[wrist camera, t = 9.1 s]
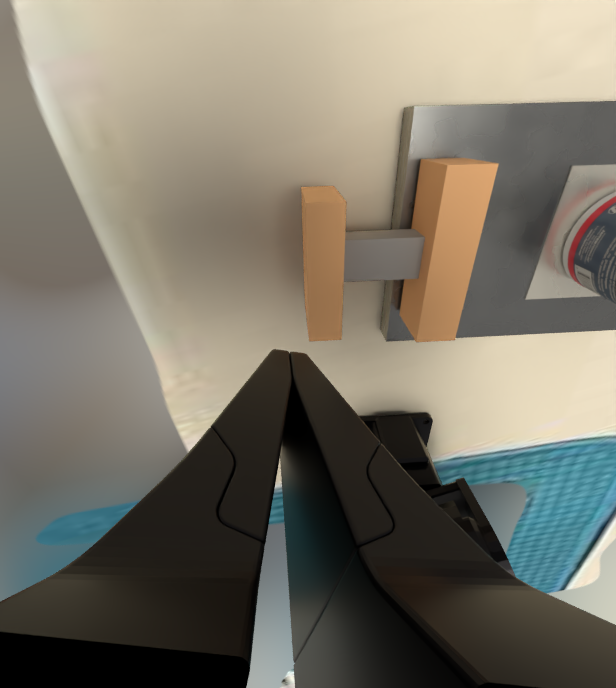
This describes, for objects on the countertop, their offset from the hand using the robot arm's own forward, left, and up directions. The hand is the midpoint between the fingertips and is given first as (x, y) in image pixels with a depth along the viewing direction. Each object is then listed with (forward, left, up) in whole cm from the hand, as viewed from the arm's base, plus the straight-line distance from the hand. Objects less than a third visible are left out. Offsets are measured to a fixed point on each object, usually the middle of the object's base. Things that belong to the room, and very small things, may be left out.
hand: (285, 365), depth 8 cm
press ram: (0, -5, -10) cm, 11 cm away
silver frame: (0, -14, -12) cm, 19 cm away
